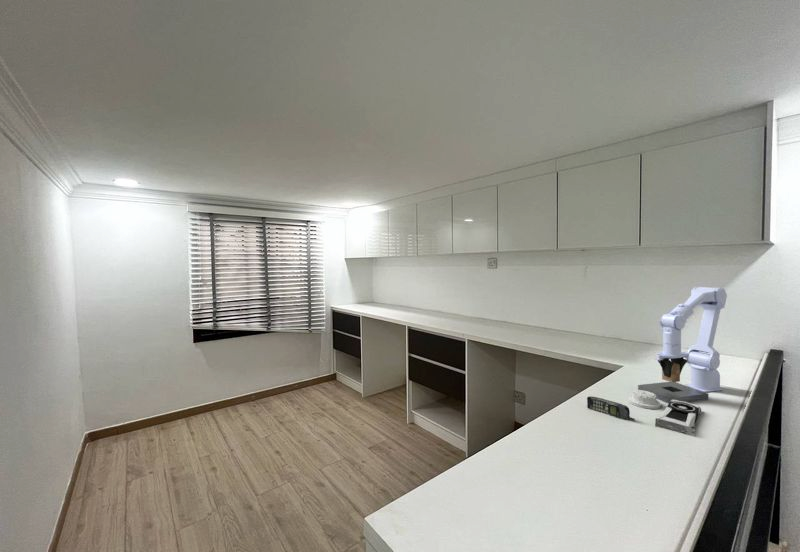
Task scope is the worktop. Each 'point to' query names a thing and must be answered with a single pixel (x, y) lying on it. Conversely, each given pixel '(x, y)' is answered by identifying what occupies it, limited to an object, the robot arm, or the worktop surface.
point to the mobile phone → (608, 407)
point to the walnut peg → (673, 374)
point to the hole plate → (674, 392)
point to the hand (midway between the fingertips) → (671, 375)
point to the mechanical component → (644, 399)
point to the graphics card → (679, 417)
